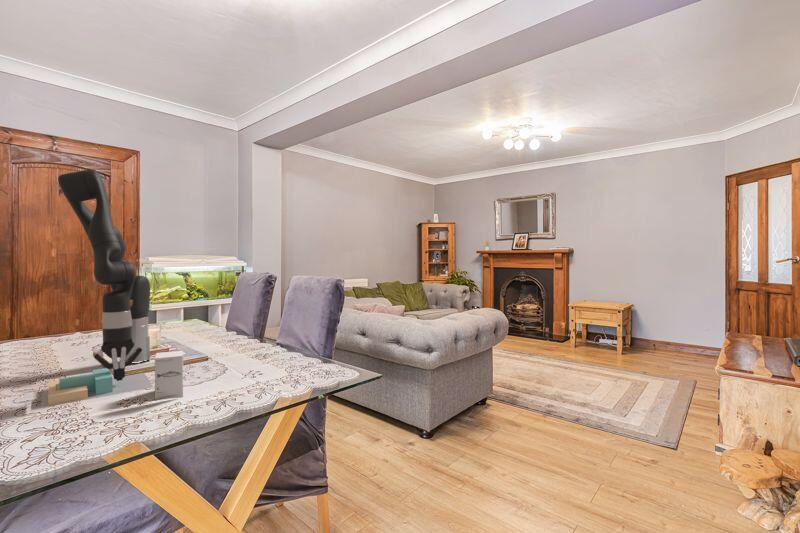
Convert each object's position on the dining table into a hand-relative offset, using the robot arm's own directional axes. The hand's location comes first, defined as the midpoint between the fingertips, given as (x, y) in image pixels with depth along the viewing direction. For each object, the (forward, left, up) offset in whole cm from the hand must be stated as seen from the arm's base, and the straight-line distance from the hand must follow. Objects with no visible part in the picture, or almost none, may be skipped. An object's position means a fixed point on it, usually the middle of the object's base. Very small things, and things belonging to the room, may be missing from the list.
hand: (119, 379), depth 125 cm
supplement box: (-11, +17, -3) cm, 20 cm away
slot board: (+5, 0, -3) cm, 6 cm away
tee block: (+8, 0, -2) cm, 8 cm away
